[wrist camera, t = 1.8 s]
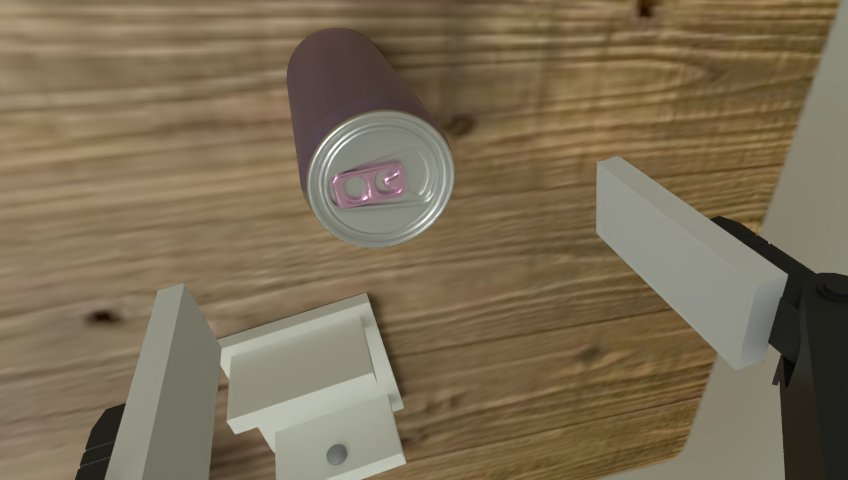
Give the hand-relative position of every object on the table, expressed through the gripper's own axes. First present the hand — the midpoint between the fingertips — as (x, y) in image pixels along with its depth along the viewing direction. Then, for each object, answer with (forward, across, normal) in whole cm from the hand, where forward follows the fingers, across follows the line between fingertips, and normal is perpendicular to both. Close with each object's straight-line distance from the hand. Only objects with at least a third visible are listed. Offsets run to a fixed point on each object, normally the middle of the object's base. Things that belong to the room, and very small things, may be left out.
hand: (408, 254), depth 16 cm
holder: (+19, -8, -22) cm, 31 cm away
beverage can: (+19, 0, 0) cm, 19 cm away
